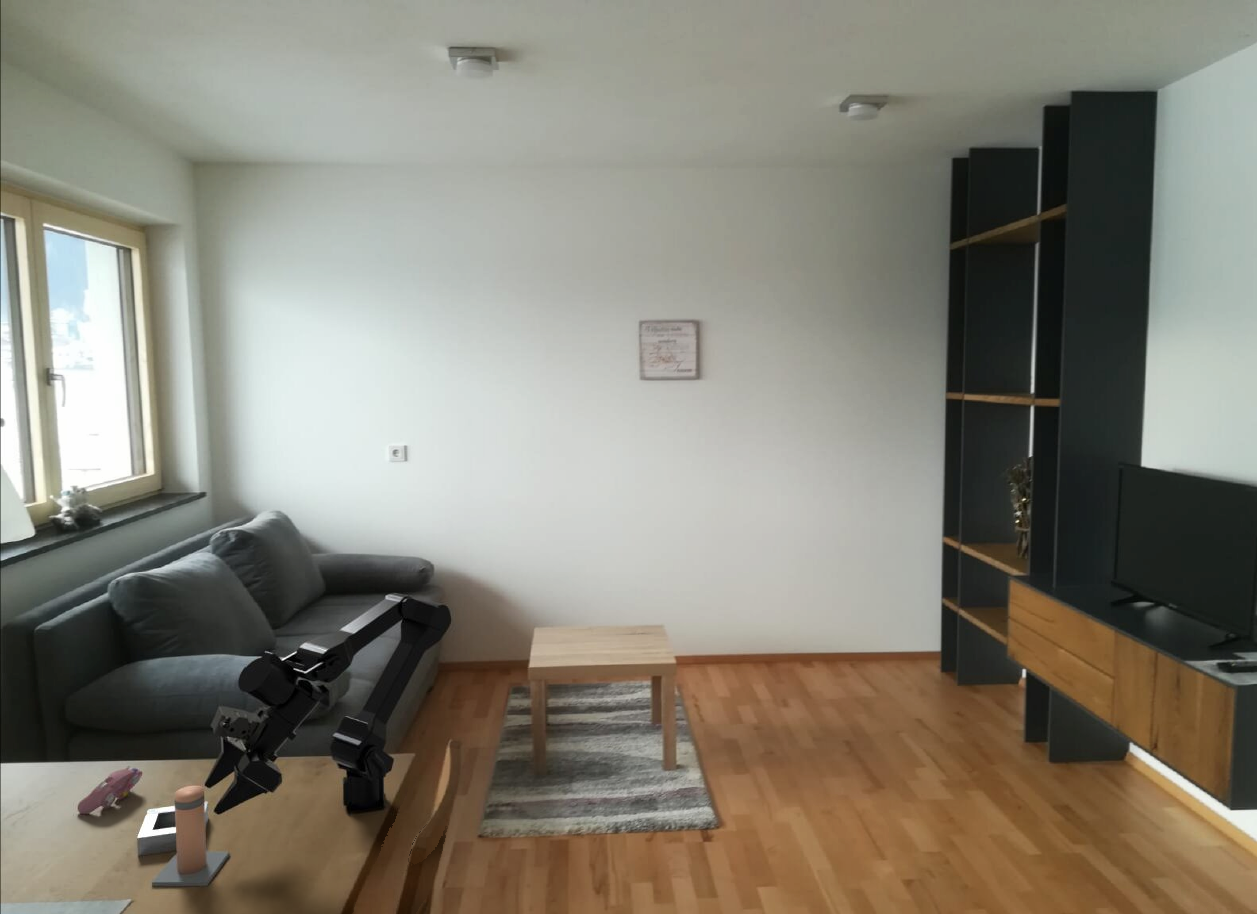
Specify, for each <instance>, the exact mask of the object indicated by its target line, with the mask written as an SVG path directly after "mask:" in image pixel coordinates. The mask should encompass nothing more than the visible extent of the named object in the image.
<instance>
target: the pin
mask: <svg viewBox="0 0 1257 914" xmlns="http://www.w3.org/2000/svg"><path fill="white" fill-rule="evenodd" d="M173 797H174V800H173V801H174V806H175V822H176V847H177V850H176V853H177V870H178V872H179V873H182V874H191V873H195V872H198V871H200V870H202V869H203V868H204V867H205V866H206V864H207V860H206V852H207V835H206V830H205V803H204V802H206V800H205V799H206V798H205V788H204V787H203V786H201V785H187V786H184V787H182V788H179V789H177V790H176V791H175V792H174V796H173Z"/></svg>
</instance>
